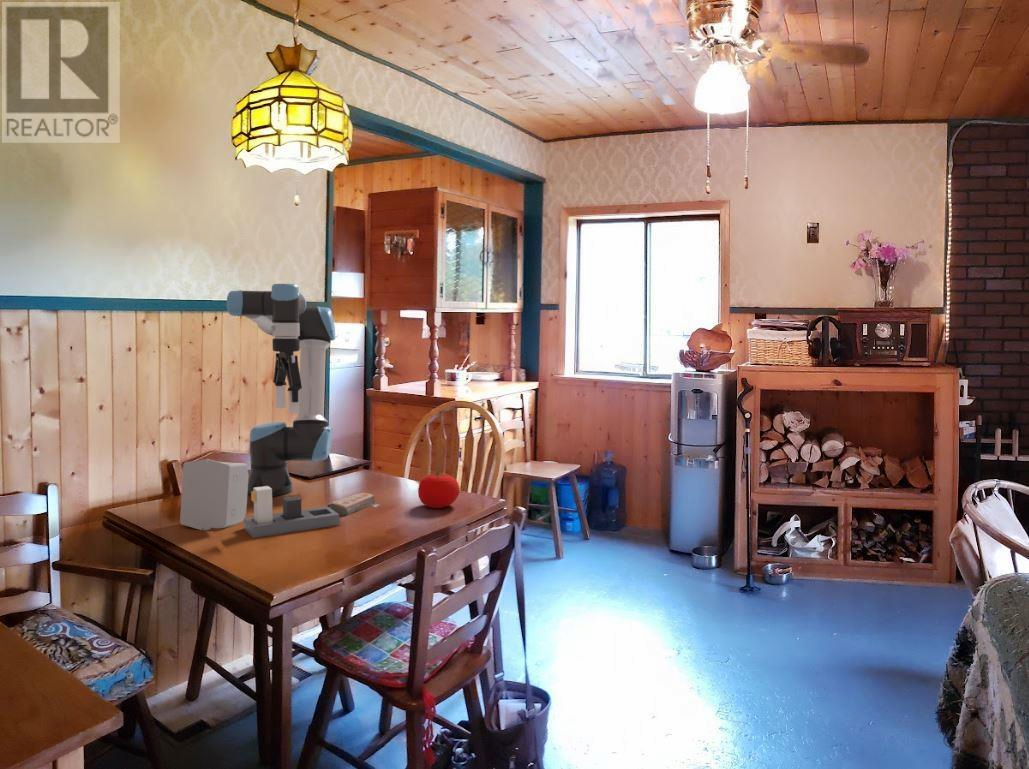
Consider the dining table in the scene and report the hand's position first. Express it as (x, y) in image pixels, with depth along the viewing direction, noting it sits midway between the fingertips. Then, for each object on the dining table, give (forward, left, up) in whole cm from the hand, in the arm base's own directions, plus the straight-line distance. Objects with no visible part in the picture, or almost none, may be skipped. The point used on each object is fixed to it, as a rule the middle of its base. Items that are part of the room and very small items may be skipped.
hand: (287, 410), depth 220 cm
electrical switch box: (-8, -18, -33) cm, 38 cm away
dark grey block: (+10, -2, -32) cm, 33 cm away
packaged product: (0, +19, -33) cm, 38 cm away
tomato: (+8, +45, -33) cm, 56 cm away
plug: (+10, -10, -32) cm, 35 cm away
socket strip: (+10, -2, -33) cm, 34 cm away
